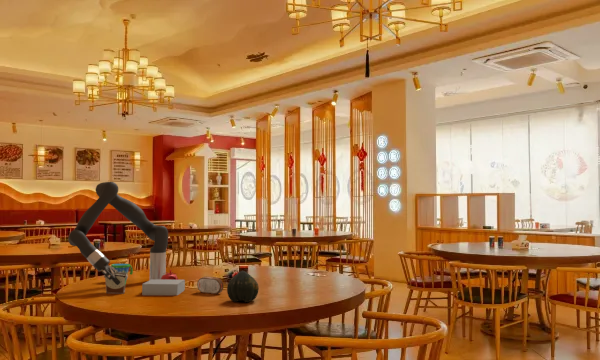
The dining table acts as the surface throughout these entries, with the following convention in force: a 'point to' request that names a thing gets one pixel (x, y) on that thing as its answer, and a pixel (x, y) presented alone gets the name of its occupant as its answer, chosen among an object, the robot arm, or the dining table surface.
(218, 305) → the dining table surface
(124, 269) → the snack cup
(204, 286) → the tin
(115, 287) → the food container
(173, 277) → the pomegranate
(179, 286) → the slate block
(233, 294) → the squash
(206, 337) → the dining table surface
